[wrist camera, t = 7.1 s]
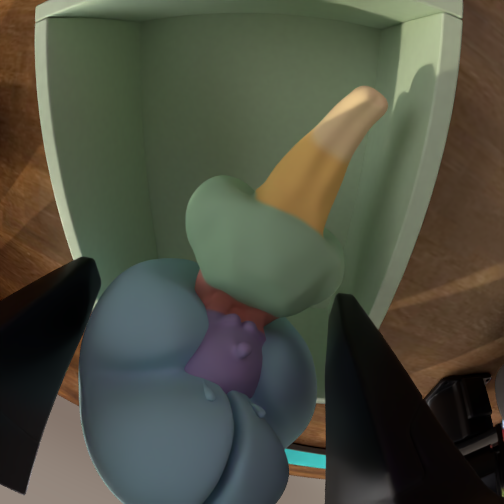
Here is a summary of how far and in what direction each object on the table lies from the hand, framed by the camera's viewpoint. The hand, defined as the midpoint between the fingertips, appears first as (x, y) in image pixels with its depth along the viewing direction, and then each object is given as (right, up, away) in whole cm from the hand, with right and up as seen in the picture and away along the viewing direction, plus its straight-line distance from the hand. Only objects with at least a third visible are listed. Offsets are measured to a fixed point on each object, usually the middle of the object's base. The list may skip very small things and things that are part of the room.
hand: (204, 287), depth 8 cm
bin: (+1, +5, +6) cm, 8 cm away
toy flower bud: (+1, +2, +3) cm, 3 cm away
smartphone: (+11, -28, +28) cm, 41 cm away
